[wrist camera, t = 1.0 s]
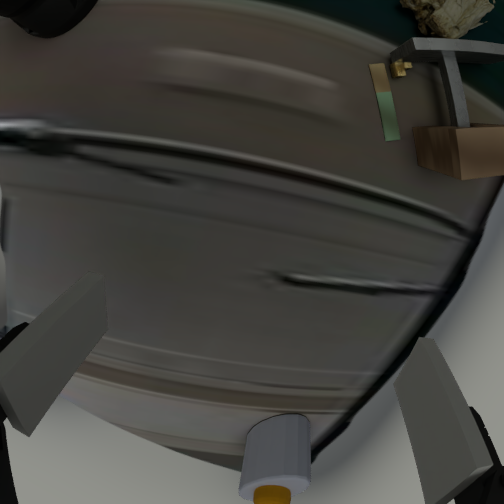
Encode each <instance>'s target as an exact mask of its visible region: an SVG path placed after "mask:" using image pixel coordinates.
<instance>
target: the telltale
mask: <svg viewBox="0 0 504 504" xmlns="http://www.w3.org/2000/svg"><path fill="white" fill-rule="evenodd" d="M389 66H390V70H391V74H392V78H401V77H404V76H406V73H405V71H406V70H408V69H410V68H412V65H411V62H404V63H403V62H394V63H392V64H391V65H389Z"/></svg>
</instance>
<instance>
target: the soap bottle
mask: <svg viewBox="0 0 504 504" xmlns="http://www.w3.org/2000/svg"><path fill="white" fill-rule="evenodd" d="M310 482H311V454H310V422H309V421H308V419H307V418H306V417H305V416H302V415H299V414H285V415H280V416H275V417H272V418H269V419H267V420H264V421H262V422H260V423H259V424H257V425H256V426H254V427H253V428H252V429H251V431H250V432H249V433H248V435H247V441H246V448H245V454H244V460H243V466H242V472H241V479H240V485H239V495H240V496H241V497H242V498H244V499H246V500H250V501H253V502H254V504H290V501H291V497H293V496H295V495H298V494H300V493H302V492H303V491H305V490H306V489H307V488H308V487H309V484H310Z"/></svg>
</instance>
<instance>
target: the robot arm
mask: <svg viewBox="0 0 504 504" xmlns="http://www.w3.org/2000/svg"><path fill="white" fill-rule="evenodd" d="M96 1H97V0H0V16H3V17H8V18H10V19H12V20H13V21H14V22H15V23H16V24H17V25H19V26H20V27H21V28H23V29H24V30H25V31H26V32H27V33H28V34H30V35H33V36H37V37H41V38H52V37H56V36H58V35H61V34H63V33H65V32H66V31H68V30H69V29H71V28H72V27H74V26H75V25H76V24H77V23H78V22H80V21H81V20H82V19H83V18H84V17H85V16H86V14H87V13H88V12H89V11H90V10H91V9H92V7H93V6H94V4H95V3H96ZM107 330H108V322H107V311H106V298H105V282H104V275H100V274H97V273H93V272H88V273H87V274H85V275H84V276H83V277H82V278H81V279H79V280H78V281H77V282H76V283H75V284H74V285H72V286H71V287H70V288H69V289H68V290H67V291H66V292H64V293H63V294H62V295H61V296H60V297H59V298H58V299H57V300H55V301H54V302H53V303H52V304H51V305H50V306H49V307H48V308H47V309H45V310H44V311H43V312H42V313H41V314H40V315H39V316H38V317H37V318H36V319H35V320H34V321H33V322H31V323H30V324H29V323H27V322H24V323H22V324H20V325H18V326H16V327H13V328H12V329H11V330H10V331H9V332H8V333H7V334H6V335H5V337H3V338H2V339H1V340H0V504H18V500H17V496H16V492H15V487H14V482H13V477H12V472H11V466H10V461H9V454H8V447H7V440H6V430H5V426H4V423H3V422H4V420H5V419H6V418H8V420H9V421H10V423H11V425H12V426H13V428H15V429H17V430H18V431H20V432H21V433H23V434H25V435H26V436H28V437H30V435H31V434H32V432H33V431H34V429H35V428H36V426H37V425H38V424H39V422H40V421H41V419H42V418H43V416H44V415H45V413H46V412H47V411H48V409H49V408H50V406H51V405H52V403H53V402H54V401H55V399H56V397H57V396H58V395H59V394H60V392H61V391H62V389H63V388H64V387H65V385H66V384H67V383H68V381H69V380H70V379H71V377H72V376H73V374H74V373H75V372H76V370H77V369H78V368H79V366H80V365H81V364H82V362H83V361H84V360H85V358H86V357H87V356H88V355H89V353H90V352H91V351H92V349H93V348H94V347H95V345H96V344H97V343H98V342H99V340H100V339H101V338H102V336H103V335H104V334H105V333H106V331H107ZM394 388H395V391H396V394H397V397H398V400H399V404H400V407H401V410H402V414H403V417H404V421H405V424H406V427H407V431H408V435H409V438H410V442H411V446H412V449H413V453H414V457H415V461H416V465H417V469H418V473H419V477H420V482H421V486H422V490H423V494H424V499H425V504H447V503H448V502H450V501H451V500H452V499H454V500H455V504H504V466H502V464H501V462H500V460H499V458H498V455H497V453H496V450H495V448H494V445H493V443H492V441H491V439H490V436H488V432H487V430H486V428H484V427H485V425H484V423H483V421H482V419H481V417H480V415H479V414H478V413H477V412H476V410H475V409H474V408H473V407H469V406H468V404H467V402H466V400H465V398H464V396H463V394H462V392H461V390H460V389H459V386H458V384H457V382H456V380H455V378H454V376H453V374H452V372H451V370H450V369H449V367H448V365H447V363H446V361H445V359H444V357H443V355H442V353H441V352H440V350H439V348H438V346H437V345H436V343H435V341H434V339H430V338H421V337H419V339H418V341H417V343H416V345H415V346H414V348H413V350H412V352H411V354H410V356H409V358H408V360H407V361H406V363H405V365H404V367H403V369H402V370H401V372H400V374H399V376H398V377H397V379H396V381H395V382H394Z"/></svg>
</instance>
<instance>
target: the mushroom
mask: <svg viewBox="0 0 504 504" xmlns="http://www.w3.org/2000/svg"><path fill="white" fill-rule="evenodd" d="M400 3H401V4H402V7H405V8H409V9H411V10H413V12H414V15H415V18H416V20H417V22H418V28H419V30H420V31H421V33H423V34H424V35H425V36H426V35H427V34H429V35H431V36H432V37H433V38H445V39H458V38H459V37H461V36H463V35H464V34H466V33H467V32H468V30H469V29H473V28H475V27H477V26H479V25H481V24H483V23H478V22H479V21H480V20H481V18H482V17H483V16H485V14H486V13H487V12H490V11H491V10H492V8H494V5H492V4H490V2H489V0H400ZM493 3H495V0H493ZM486 22H487V21H486Z"/></svg>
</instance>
